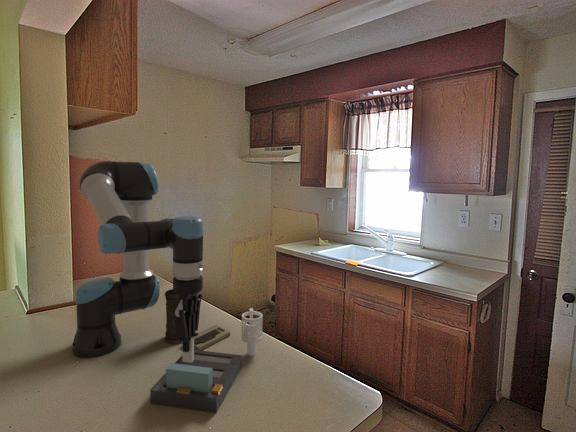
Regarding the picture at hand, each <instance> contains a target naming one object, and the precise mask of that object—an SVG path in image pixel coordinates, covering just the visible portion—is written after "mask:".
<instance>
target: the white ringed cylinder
mask: <svg viewBox="0 0 576 432" xmlns="http://www.w3.org/2000/svg"><path fill="white" fill-rule="evenodd" d="M248 310H249V311H246V312H243V313H242V314H241V341H242V342H244V343H246V344H247V349H246V352H247V353H246V354H247V356H249V357H253V356H256V355H257V343H259V342H261V341H263V340H262V339H263V318H264V317H263V316H264V315H263V313H262V312H260V311H255V310H254V308H253V307H251V308H249V309H248ZM246 316H249V318H248V317H246ZM254 316H258V317H257V318H256V317H255V318H254ZM247 323H248V324H247Z"/></svg>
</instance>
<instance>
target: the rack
mask: <svg viewBox="0 0 576 432" xmlns="http://www.w3.org/2000/svg"><path fill="white" fill-rule="evenodd" d="M175 364H183V365H191V366H199V367H208V368H213V389H212V390H211V392H210V394H209V393H202V392H194V391H192V389H186V388H178V389H172V388H166V372H164V374H163V375H162V376H161V377H160V378H159V380H158V381H157V382H156V383H155V384H154V385H153V386H152V387H151V388H150V391H149V394H150V395H149V397H150V405H151V404H152V405H159V406H164V407H165V406H166V407H170V408H180V409H187V410H192V411H201V412H208V413H213V414H217V413H218V411H219V409H220V407H221V406H222V404H223V402H224V401H225V399H226V398H227V397H226V396H227V395H228V393H229V391H230V389H231V388H232V385H233V384H234V383H235V380H236V379H237V377H238V375H239V373H240V371H242V367H243V355H241V354H235V353H226V352H225V353H224V352H217V351H209V350H208V351H207V350H202V351H200V350H194V361H193V362H192V363H190V362H182V355H181V356H180V357H179V358H178V359H177V360H176V361H175Z"/></svg>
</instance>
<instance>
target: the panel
mask: <svg viewBox="0 0 576 432" xmlns="http://www.w3.org/2000/svg"><path fill="white" fill-rule="evenodd" d="M165 373H166V388H172V389H178V388H186V389H192V391H194V392H202V393H209V394H210V392H211V390H212V389H213V368H208V367H199V366H191V365H183V364H175V363H174V362H171V363H170V364H169V365H168V366H167V367H166V369H165Z"/></svg>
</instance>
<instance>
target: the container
mask: <svg viewBox="0 0 576 432" xmlns="http://www.w3.org/2000/svg"><path fill="white" fill-rule="evenodd" d="M164 297H165V313H166V315H165V316H166V317H165V318H166V319H165V320H166V323H165V328H166V329H165V330H166V331H165V336H164V339H165V342H167V343H168V344H172V345H174V344H175V345H176V344H182V341H178V340H177V333H176V326H175V319H174V316H173V314H172V311H173V309H177V307H178V304H177V301H178V294H177V293H175V292H174V291H173V288H171V289H167V290H166V291H165V293H164Z"/></svg>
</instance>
